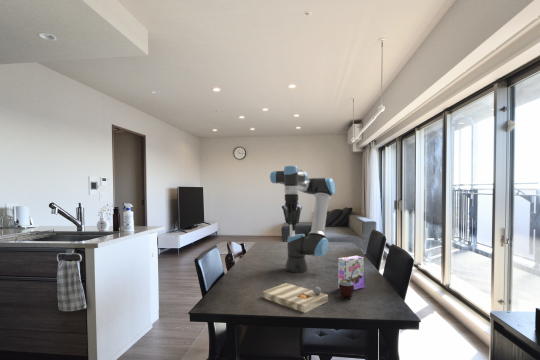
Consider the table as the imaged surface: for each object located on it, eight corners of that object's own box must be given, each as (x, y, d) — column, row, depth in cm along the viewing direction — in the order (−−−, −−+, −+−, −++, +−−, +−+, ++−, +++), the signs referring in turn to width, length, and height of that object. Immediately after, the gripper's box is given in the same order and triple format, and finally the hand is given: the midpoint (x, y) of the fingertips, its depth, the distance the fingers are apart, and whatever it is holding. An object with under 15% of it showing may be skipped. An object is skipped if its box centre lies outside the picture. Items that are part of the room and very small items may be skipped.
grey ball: (312, 294, 137) (311, 286, 137) (316, 292, 140) (316, 285, 140) (318, 296, 134) (318, 288, 135) (322, 294, 137) (322, 286, 137)
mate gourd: (336, 296, 143) (335, 265, 144) (349, 293, 146) (348, 263, 147) (345, 301, 136) (345, 269, 137) (359, 298, 139) (358, 267, 140)
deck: (262, 297, 142) (262, 291, 142) (286, 288, 154) (286, 282, 155) (304, 313, 123) (304, 305, 124) (328, 301, 136) (328, 294, 136)
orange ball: (297, 302, 135) (297, 295, 135) (302, 300, 137) (301, 293, 137) (303, 304, 132) (303, 296, 132) (308, 302, 135) (308, 294, 135)
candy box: (345, 292, 148) (344, 260, 149) (337, 288, 154) (337, 257, 154) (365, 288, 155) (364, 257, 155) (357, 284, 160) (356, 254, 161)
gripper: (278, 193, 162) (279, 236, 161) (296, 194, 153) (297, 238, 153) (286, 193, 167) (287, 234, 167) (304, 193, 158) (306, 236, 158)
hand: (292, 236), depth 160 cm, fingers closed
